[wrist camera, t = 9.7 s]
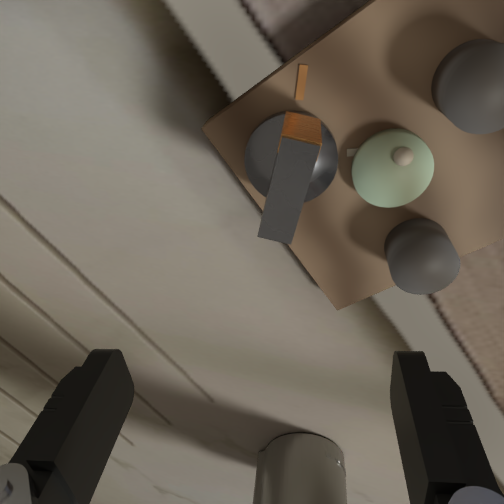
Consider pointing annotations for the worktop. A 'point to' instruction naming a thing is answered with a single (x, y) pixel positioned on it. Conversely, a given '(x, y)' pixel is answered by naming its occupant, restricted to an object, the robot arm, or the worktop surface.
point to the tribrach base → (392, 143)
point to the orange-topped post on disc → (289, 168)
